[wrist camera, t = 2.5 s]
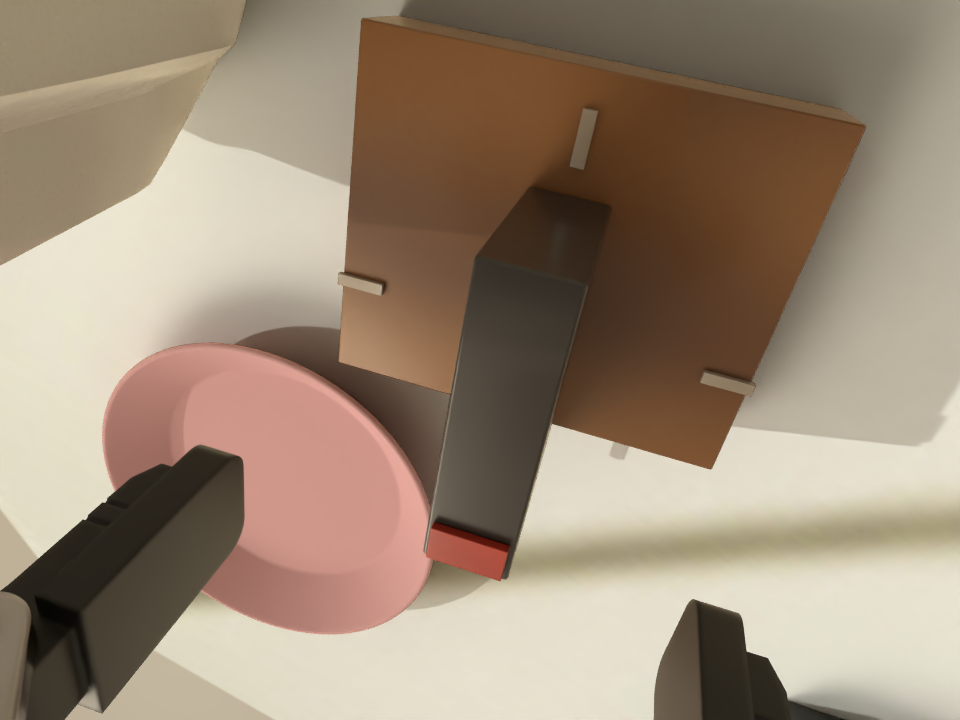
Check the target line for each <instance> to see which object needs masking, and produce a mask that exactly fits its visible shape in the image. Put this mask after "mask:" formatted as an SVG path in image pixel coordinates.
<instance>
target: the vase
mask: <svg viewBox="0 0 960 720" xmlns="http://www.w3.org/2000/svg"><path fill="white" fill-rule="evenodd" d="M245 2H246V0H0V265H2V264H4V263H6V262H8V261H10V260H12V259H13V258H15V257H17V256H19V255H21V254H23V253H25V252H27V251H29V250H30V249H32V248H34V247H36V246H38V245H40V244H42V243H44V242H46V241H47V240H49V239H51V238H53V237H55V236H57V235H59V234H61V233H63V232H64V231H66V230H68V229H70V228H72V227H74V226H76V225H78V224H80V223H81V222H83V221H85V220H87V219H89V218H91V217H93V216H95V215H97V214H98V213H100V212H102V211H104V210H106V209H108V208H110V207H112V206H114V205H115V204H117V203H119V202H121V201H123V200H125V199H127V198H129V197H131V196H132V195H134V194H136V193H138V192H139V191H141V190H142V189H144V188H145V187H147V186H148V185H150V183H151V182H152V180H153V178H154V177H155V175H156V173H157V172H158V170H159V168H160V167H161V165H162V163H163V162H164V160H165V158H166V156H167V155H168V153H169V151H170V149H171V147H172V145H173V144H174V142H175V140H176V138H177V136H178V134H179V132H180V131H181V129H182V127H183V125H184V123H185V121H186V120H187V118H188V116H189V114H190V112H191V110H192V108H193V107H194V105H195V103H196V101H197V99H198V97H199V95H200V93H201V91H202V89H203V87H204V85H205V84H206V82H207V80H208V78H209V76H210V74H211V72H212V70H213V68H214V66H215V64H216V62H217V60H218V58H219V57H221V56H223V55H224V54H225V53H226V52H227V51H228V50H229V49H230V48H231V47H232V46H233V45H234V44H235V43H236V39H237V35H238V31H239V28H240V24H241V20H242V16H243V11H244V7H245Z"/></svg>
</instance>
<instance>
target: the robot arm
mask: <svg viewBox="0 0 960 720" xmlns="http://www.w3.org/2000/svg"><path fill="white" fill-rule="evenodd" d="M244 519H245V509H244V464H243V460H242V458H241V457H240V456H237V455H234V454H231V453H228V452H224V451H221V450H218V449H215V448H212V447H208V446H205V445H197V446H195V447H193V448H192V449H191V450H189V451H188V452H187V453H186V454H185V455H184V456H183V457H182V458H181V459H180V460H179V461H178V462H177V463H175V464H174V465H173V466H172V467H171V466H168V465H165V464H162V463H161V464H159V465H157V466H155V467H153V468H151V469H148V470H146V471H144V472H142V473H140V474H138V475H136V476H134V477H131V478H130V479H129V480H128V481H127V482H125V483H124V484H123V485H122V486H121V487H120V488H119V489H117V490H116V491H115V492H114V493H113V494H112V495H111V496H109V497H108V498H107V501H106V503H101V504H100V505H99V506H98V507H97V508H96V509H95V510H93V511H92V512H91V513H90V514H89V515H88V518H87V519H86V520H82V521H81V522H80V523H79V524H77V525H76V526H75V527H74V528H73V529H72V530H71V531H69V532H68V533H67V534H66V535H65V536H64V537H63V538H61V539H60V540H59V541H58V542H57V543H56V544H55V545H53V546H52V547H51V548H50V549H49V550H48V551H47V552H45V553H44V554H43V555H42V556H41V557H40V558H39V559H37V560H36V561H35V562H34V563H33V564H32V565H31V566H29V567H28V568H27V569H26V570H25V571H24V572H23V573H21V575H19V576H18V577H17V578H16V579H15V580H14V581H12V582H11V583H10V584H9V585H8V586H6V587H5V588H4V589H2V590H1V591H0V720H65V718H66V717H67V716H68V715H69V714H70V712H71V711H72V710H73V709H74V707H76V705H77V704H78V705H80V706H83V707H86V708H88V709H91V710H94V711H96V712H99V713H103V712H104V711H105V709H106V708H107V707H108V706H109V705H110V703H111V702H112V701H113V699H114V698H115V697H116V696H117V695H118V693H119V692H120V691H121V690H122V688H123V687H124V686H125V685H126V683H127V682H128V681H129V680H130V678H131V677H132V676H133V675H134V673H135V672H136V671H137V670H138V668H139V667H140V666H141V665H142V663H143V662H144V661H145V660H146V658H147V657H148V656H149V654H150V653H151V652H152V651H153V650H154V648H155V647H156V646H157V645H158V643H159V642H160V641H161V640H162V638H163V637H164V636H165V635H166V633H167V632H168V631H169V630H170V628H171V627H172V626H173V625H174V623H175V622H176V621H177V620H178V618H179V617H180V616H181V615H182V613H183V612H184V611H185V610H186V608H187V607H188V606H189V605H190V603H191V602H192V601H193V600H194V599H195V597H196V596H197V595H198V594H199V592H200V591H201V590H202V589H203V587H204V586H205V585H206V584H207V582H208V581H209V580H210V579H211V577H212V576H213V575H214V574H215V572H216V571H217V570H218V569H219V567H220V566H221V565H222V564H223V562H224V561H225V560H226V559H227V557H228V556H229V555H230V554H231V552H232V551H233V549H234V548H235V546H236V544H237V542H238V540H239V538H240V535H241V533H242V530H243V526H244ZM654 720H791V716H790V710H789V704H788V698H787V693H786V691H785V689H784V687H783V685H782V683H781V681H780V680H779V678H778V676H777V674H776V672H775V670H774V669H773V667H772V665H771V663H770V661H769V660H768V658H765V657H762V656H759V655H756V654H753V653H750V652H746V644H745V636H744V627H743V621H742V618H741V616H740V614H739V613H736V612H733V611H729V610H726V609H723V608H720V607H716V606H713V605H710V604H707V603H704V602H700V601H697V600H694V599H692V600H691V601H690V602H689V603H688V605H687V607H686V609H685V611H684V613H683V615H682V617H681V619H680V621H679V623H678V625H677V627H676V629H675V631H674V634H673V636H672V638H671V640H670V642H669V644H668V646H667V648H666V650H665V652H664V654H663V657H662V659H661V662H660V665H659V669H658V673H657V678H656V684H655V694H654Z"/></svg>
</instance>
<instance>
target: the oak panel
mask: <svg viewBox="0 0 960 720" xmlns="http://www.w3.org/2000/svg"><path fill="white" fill-rule="evenodd" d="M865 129H866V126H865V125H864V124H863V123H861V122H860V121H858V120H857V119H855V118H854V117H852V116H851V115H849V114H848V113H846V112H845V111H843V110H842V109H838V108H833V107H828V106H823V105H819V104H814V103H809V102H804V101H800V100H795V99H790V98H785V97H781V96H776V95H771V94H767V93H762V92H757V91H752V90H748V89H743V88H738V87H733V86H729V85H724V84H719V83H714V82H710V81H705V80H700V79H696V78H691V77H686V76H681V75H677V74H672V73H667V72H662V71H658V70H653V69H648V68H643V67H639V66H634V65H629V64H625V63H620V62H615V61H610V60H606V59H601V58H596V57H591V56H587V55H582V54H577V53H573V52H568V51H563V50H558V49H554V48H549V47H544V46H539V45H535V44H530V43H525V42H520V41H516V40H511V39H506V38H502V37H497V36H492V35H487V34H483V33H478V32H473V31H468V30H464V29H459V28H454V27H449V26H445V25H440V24H435V23H431V22H426V21H421V20H416V19H412V18H407V17H402V16H385V17H370V18H362V20H361V32H360V47H359V62H358V77H357V92H356V107H355V122H354V137H353V152H352V166H351V181H350V196H349V211H348V226H347V241H346V256H345V271H344V272H339V273H338V284H339V285H343V301H342V316H341V331H340V345H339V360H338V361H339V362H340V363H344V364H347V365H351V366H354V367H358V368H361V369H365V370H368V371H372V372H375V373H378V374H382V375H385V376H389V377H392V378H396V379H399V380H403V381H406V382H410V383H413V384H416V385H420V386H423V387H427V388H430V389H434V390H437V391H441V392H444V393H448V394H450V393H451V388H452V382H453V376H454V370H455V365H456V359H457V353H458V347H459V342H460V336H461V330H462V324H463V319H464V313H465V307H466V302H467V296H468V290H469V284H470V279H471V273H472V267H473V261H474V258H475V256H476V255H477V254H478V252H479V251H480V250H481V248H482V247H483V246H484V244H485V243H486V242H487V241H488V239H489V238H490V237H491V235H492V234H493V233H494V231H495V230H496V229H497V228H498V226H499V225H500V224H501V222H502V221H503V220H504V218H505V217H506V216H507V215H508V213H509V212H510V211H511V209H512V208H513V207H514V205H515V204H516V203H517V202H518V200H519V199H520V198H521V196H522V195H523V194H524V192H525V191H526V190H527V189H528V187H531V186H532V187H536V188H540V189H544V190H548V191H552V192H556V193H561V194H565V195H569V196H573V197H577V198H581V199H585V200H590V201H594V202H598V203H602V204H606V205H610V206H611V209H612V210H611V213H610V217H609V220H608V224H607V228H606V231H605V235H604V238H603V242H602V246H601V249H600V253H599V256H598V260H597V264H596V267H595V271H594V274H593V278H592V282H591V285H590V289H589V292H588V296H587V300H586V303H585V307H584V310H583V314H582V318H581V321H580V325H579V328H578V332H577V336H576V339H575V343H574V346H573V350H572V354H571V357H570V361H569V364H568V368H567V372H566V375H565V379H564V382H563V386H562V390H561V393H560V397H559V400H558V404H557V408H556V411H555V415H554V418H553V422H552V424H555V425H558V426H562V427H565V428H569V429H572V430H575V431H579V432H582V433H586V434H589V435H593V436H596V437H600V438H603V439H607V440H610V441H614V442H617V443H620V444H624V445H627V446H631V447H634V448H638V449H641V450H645V451H648V452H652V453H655V454H658V455H662V456H665V457H669V458H672V459H676V460H679V461H683V462H686V463H690V464H693V465H696V466H700V467H703V468H707V469H712V468H713V465H714V463H715V461H716V459H717V457H718V454H719V452H720V450H721V448H722V445H723V443H724V441H725V439H726V437H727V434H728V432H729V430H730V428H731V426H732V423H733V421H734V419H735V417H736V415H737V412H738V410H739V408H740V406H741V403H742V401H743V399H744V397H745V395H747V396H750V397H751V396H752V394H753V391H754V389H755V387H756V384H755V383H752V382H751V381H752V379H753V377H754V375H755V372H756V370H757V368H758V366H759V364H760V361H761V359H762V357H763V355H764V353H765V350H766V348H767V346H768V344H769V342H770V339H771V337H772V335H773V333H774V330H775V328H776V326H777V324H778V322H779V319H780V317H781V315H782V313H783V311H784V308H785V306H786V304H787V302H788V299H789V297H790V295H791V293H792V291H793V288H794V286H795V284H796V282H797V280H798V277H799V275H800V273H801V271H802V268H803V266H804V264H805V262H806V260H807V257H808V255H809V253H810V251H811V249H812V246H813V244H814V242H815V240H816V238H817V235H818V233H819V231H820V229H821V226H822V224H823V222H824V220H825V218H826V215H827V213H828V211H829V209H830V207H831V204H832V202H833V200H834V198H835V195H836V193H837V191H838V189H839V187H840V184H841V182H842V180H843V178H844V176H845V173H846V171H847V169H848V167H849V165H850V162H851V160H852V158H853V156H854V153H855V151H856V149H857V147H858V145H859V142H860V140H861V138H862V136H863V134H864V131H865Z"/></svg>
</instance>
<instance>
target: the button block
mask: <svg viewBox="0 0 960 720" xmlns="http://www.w3.org/2000/svg"><path fill="white" fill-rule="evenodd" d="M788 704H789V710H790V716H791V720H842V719H839V718H836V717H833V716H830V715H827V714H823V713H820V712H817V711H814V710H811V709H808V708H805V707H802V706H799V705H796V704H793V703H790V702H788Z"/></svg>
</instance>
